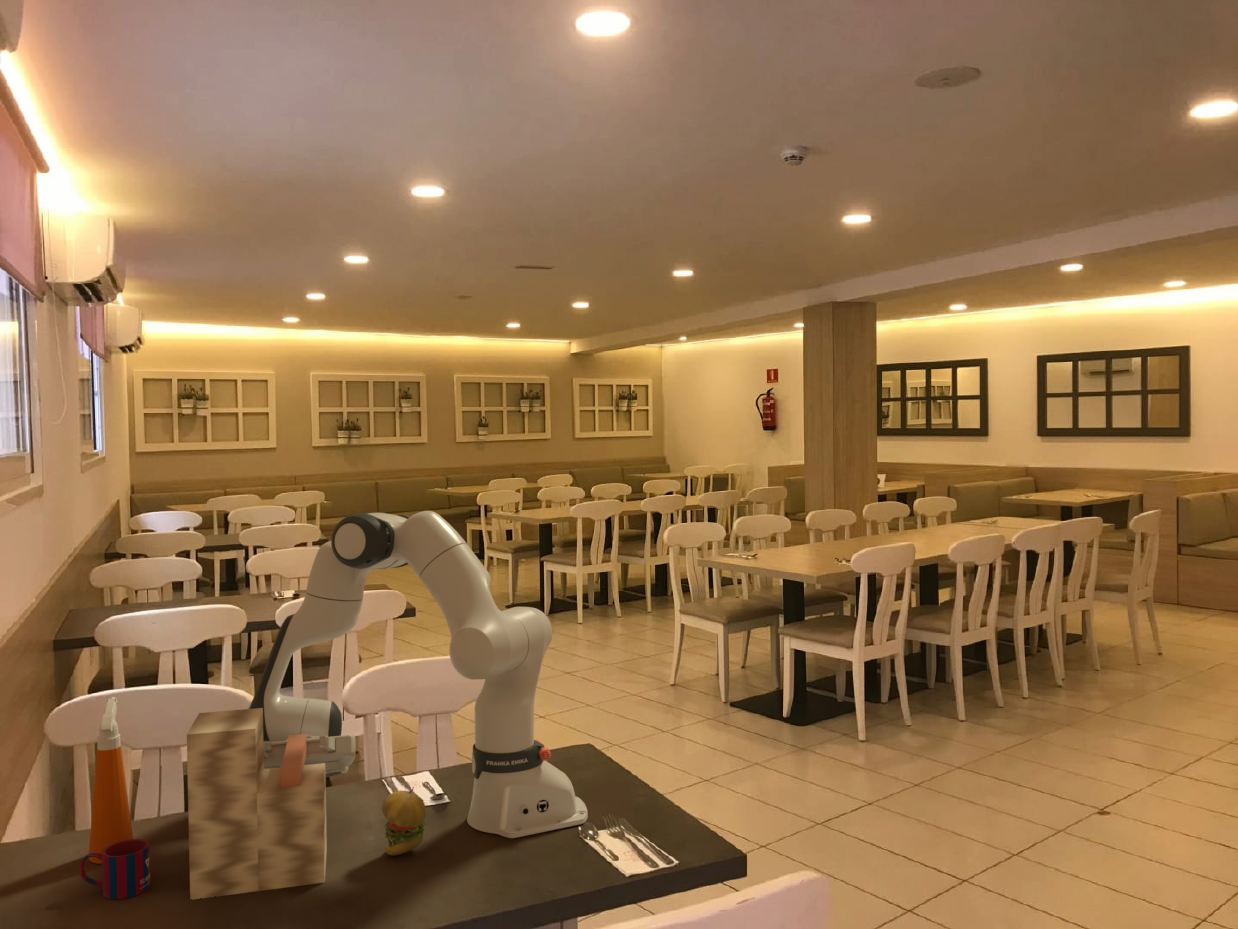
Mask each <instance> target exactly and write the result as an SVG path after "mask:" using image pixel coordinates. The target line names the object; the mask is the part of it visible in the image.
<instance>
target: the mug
mask: <svg viewBox="0 0 1238 929" xmlns="http://www.w3.org/2000/svg"><path fill="white" fill-rule="evenodd" d="M150 856H151V855H150V842H149V841H148V840H146V839H143V838H133V839H129V840H123V841H119V842H116V843H113V844H111V845H109V846H107V847H106V848H105V849H104V850H103V851H102V853H90V854H89V853H88V854H86V855H85V856H83V858H82V860H81V861H80V866H79V872H80V876H81V878H82V879H83V881H84V882H86V883H87V884H89V885H91V886H94V887H101V888H102V896H103V897H104V898H105V899H108V900H125V899H129V898H133V897H136V896H139V895H140V894H142V893H144V892H146V891H147V890H149V888H150V886H151V865H150V864H151V862H150V861H151V860H150V859H151V858H150ZM89 857H96V858H98V859H100V860H102V864H101V865H102V866H101V868H102V870H101V872H102V876H101V877H102V879H101V880H96V879H92V878H90V876H88V874H87V872H86V869H85V864H86V861H87V859H89Z"/></svg>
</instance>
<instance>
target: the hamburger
mask: <svg viewBox="0 0 1238 929" xmlns="http://www.w3.org/2000/svg"><path fill="white" fill-rule="evenodd" d="M413 790H414V786H413V787H412V788H411V789H410V790H409V791H407V790H402V789H401V790H396V791H394V792H392V793H389V795H387V797H386V798H385V799H384V801H383V803H382V806H381V811H382V813H383V815H384V818H385V819H387V820H386V822H385V824H384V828H385V831H386V832H384V836H385V838H387V844H386V845H385V846H384V847H383V850H384V852H385V853H386V854H387V855H388V856H400V855H403V854H405V853H408V852H410V851H412V850H413V849H416V848H417V847H418V846H419V845H420V844H421V843H422V842H423V839H424V831H425V829H424V827H425V824H426V823H425V821H424V820H425V818H426V814H427V808H426V805H425V803H424V799H423V798H421V797H420V795H418V794H416V793H414V792H413Z"/></svg>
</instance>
